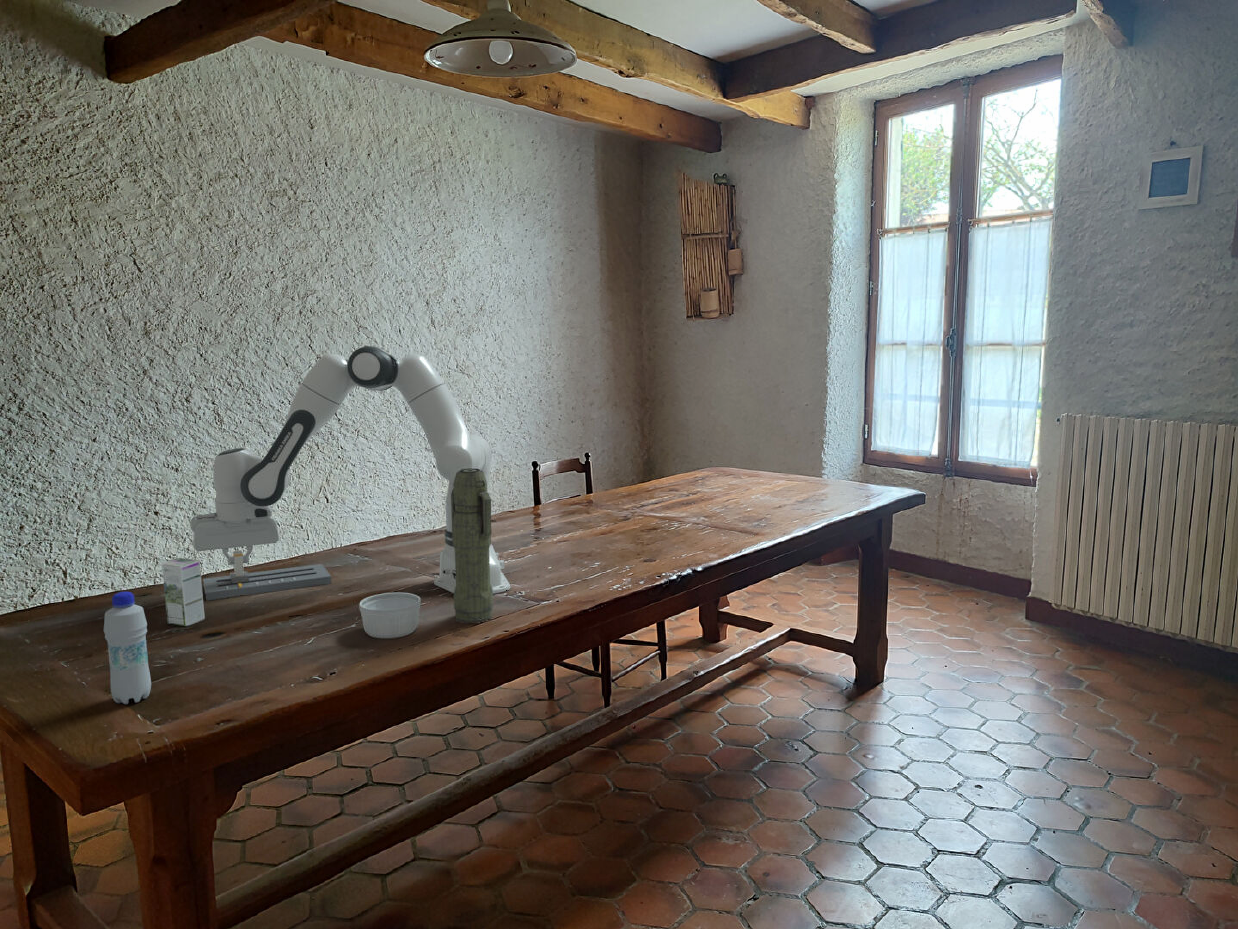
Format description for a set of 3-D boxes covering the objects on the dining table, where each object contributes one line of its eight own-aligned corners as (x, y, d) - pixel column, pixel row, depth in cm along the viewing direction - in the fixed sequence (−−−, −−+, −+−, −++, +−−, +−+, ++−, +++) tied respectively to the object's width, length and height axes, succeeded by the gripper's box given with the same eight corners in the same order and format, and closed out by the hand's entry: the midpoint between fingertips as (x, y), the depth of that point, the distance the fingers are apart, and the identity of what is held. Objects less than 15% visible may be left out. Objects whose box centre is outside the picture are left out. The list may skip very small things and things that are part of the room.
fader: (249, 581, 215) (247, 553, 214) (232, 583, 213) (230, 555, 212) (247, 576, 219) (245, 549, 218) (230, 578, 217) (228, 550, 216)
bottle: (122, 692, 153) (112, 587, 150) (160, 690, 153) (151, 586, 150) (103, 707, 146) (92, 598, 143) (142, 706, 147) (132, 597, 144)
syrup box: (206, 619, 193) (201, 558, 190) (185, 627, 187) (180, 565, 185) (186, 616, 194) (182, 556, 192) (165, 624, 189) (160, 562, 187)
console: (331, 583, 221) (331, 575, 220) (206, 600, 206) (205, 591, 206) (322, 570, 233) (321, 562, 232) (203, 586, 218) (202, 577, 218)
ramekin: (398, 616, 194) (397, 588, 193) (434, 629, 186) (433, 599, 185) (348, 632, 184) (347, 602, 183) (384, 646, 176) (382, 614, 175)
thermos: (481, 627, 187) (477, 474, 181) (442, 618, 193) (437, 470, 187) (506, 616, 194) (502, 469, 189) (467, 608, 200) (463, 465, 195)
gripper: (190, 517, 205) (194, 571, 208) (278, 509, 215) (281, 561, 217) (189, 513, 211) (193, 565, 213) (275, 505, 221) (278, 555, 223)
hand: (238, 563), depth 215 cm, fingers closed on fader, 2 cm apart
